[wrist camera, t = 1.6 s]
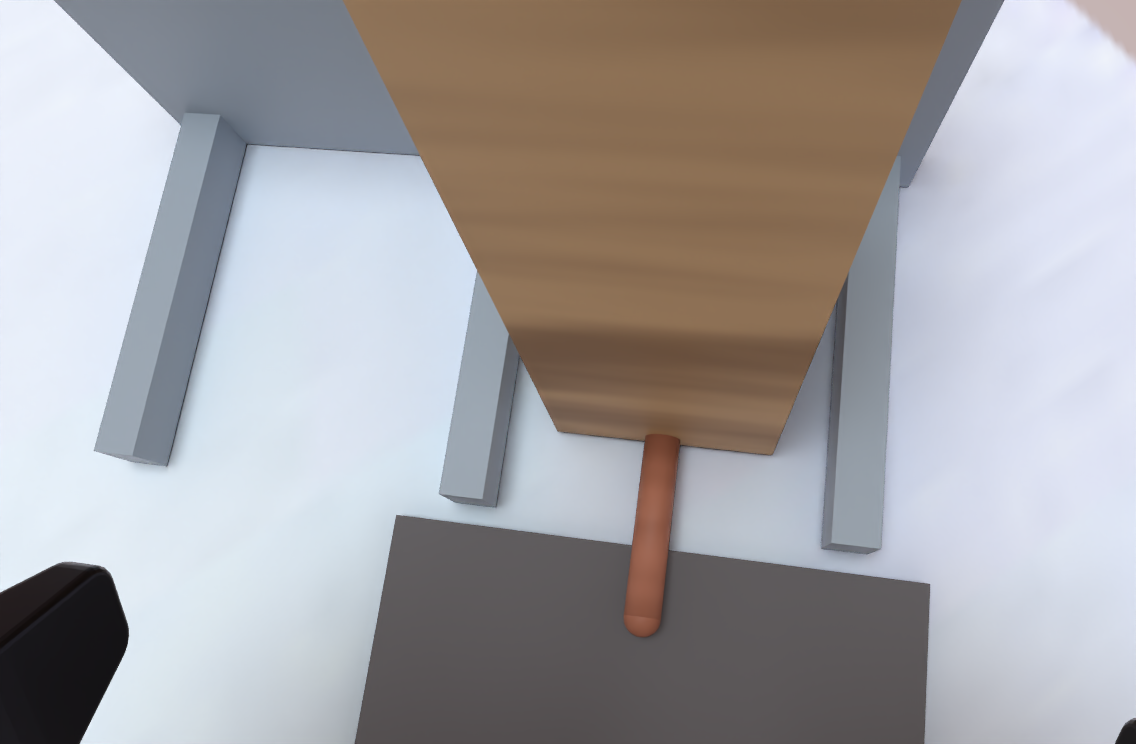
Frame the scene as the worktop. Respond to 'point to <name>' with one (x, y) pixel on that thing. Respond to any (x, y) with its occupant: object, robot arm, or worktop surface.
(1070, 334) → the worktop surface
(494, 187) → the oak block
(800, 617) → the mat
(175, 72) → the lane rack
